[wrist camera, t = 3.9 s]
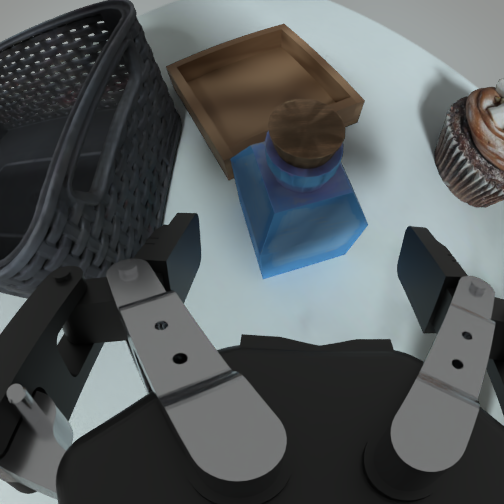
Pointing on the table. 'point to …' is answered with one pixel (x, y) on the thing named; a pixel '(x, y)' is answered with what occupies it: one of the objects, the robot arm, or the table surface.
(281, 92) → the tray
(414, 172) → the table surface
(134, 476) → the robot arm
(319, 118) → the perfume bottle
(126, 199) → the storage bin
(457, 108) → the cupcake
